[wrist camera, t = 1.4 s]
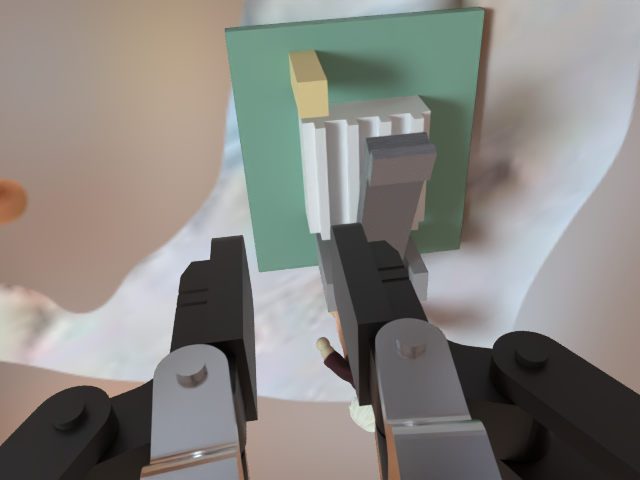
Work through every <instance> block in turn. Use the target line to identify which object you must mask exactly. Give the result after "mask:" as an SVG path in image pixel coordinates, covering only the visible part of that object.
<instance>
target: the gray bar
mask: <svg viewBox="0 0 640 480" xmlns="http://www.w3.org/2000/svg"><path fill="white" fill-rule="evenodd" d="M436 156H437V151H436V148H435V145H434V144H430V142H429V139H428V135H427V132H419V133H409V134H399V135H389V136H379V137H369V138H365V147H364V156H363V165H362V174H361V183H360V192H359V202H358V211H357V220H356V223H358V222H361V224H362V227H363V229H364V232H365V235H366V238H367V241H368V242H372V241H381V240H385V241H386V242H388V243H389V244H390V245H391V246H392V247H394V248H395V249H396V250H397V251H398V252H399V254H400V257H401V259H402V261H403V257H404V254H405V250H406V246H407V243H408V239H409V235H410V231H411V228H412V224H413V220H414V217H415V213H416V209H417V205H418V202H419V198H420V194H421V190H422V187H423V183H424V181H425V180H430V177H431V174H432V170H433V167H434V163H435V160H436Z"/></svg>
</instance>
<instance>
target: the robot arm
mask: <svg viewBox="0 0 640 480" xmlns="http://www.w3.org/2000/svg"><path fill="white" fill-rule="evenodd" d="M330 240H331V260H332V279H333V289H334V296H335V301H336V306H337V310H338V315H339V319H340V323H341V328H342V332H343V337H344V341H345V345H346V350H347V354H348V359H349V363H350V367H351V372H352V376H353V381H354V385H355V389H356V394H357V398H358V403H359V406H366V405H372V409H373V413H374V417H375V440H376V447H377V454H378V463H379V471H380V479H381V480H640V395H639V394H637V393H636V392H634V391H633V390H631V389H630V388H628V387H626V386H625V385H623V384H622V383H620V382H618V381H617V380H616V379H614V378H612V377H611V376H609V375H608V374H606V373H605V372H603V371H601V370H600V369H598V368H597V367H595V366H594V365H592V364H591V363H589V362H587V361H586V360H584V359H583V358H581V357H580V356H578V355H576V354H575V353H573V352H572V351H570V350H569V349H567V348H566V347H564V346H562V345H561V344H559V343H557V342H556V341H555V340H553V339H551V338H549V337H547V336H545V335H542V334H539V333H535V332H529V331H515V332H510V333H507V334H505V335H503V336H501V337H500V338H498V339H497V341H496V342H495V343H494V345H493V349H490V348H482V347H473V346H466V345H461V344H457V343H454V342H452V341H449V340H447V339H446V337H445V335H444V334H443V332H442V331H441V330H440V329H439V328H437V327H436V326H435V325H433V324H431V323H429V322H428V320H427V318H426V316H425V313H424V311H423V308H422V306H421V304H420V301H419V299H418V297H417V294H416V292H415V290H414V287H413V285H412V282H411V280H409V275H408V273H407V271H406V268H404V264H403V261H402V259H401V257H400V254H399V252H398V251H397V250H396V249H395V248H394V247H392V246H391V245H390V244H389V243H388V242H386V241H385V240H381V241H372V242H368V241H367V238H366V235H365V232H364V229H363V227H362V224H361V222H358V223H349V224H340V225H331V226H330ZM254 420H258V417H257V388H256V360H255V333H254V308H253V297H252V289H251V282H250V276H249V269H248V263H247V256H246V250H245V244H244V238H243V235H239V236H230V237H221V238H212V241H211V254H210V260H204V261H195V262H191V263H190V265H189V266H188V267H187V269H186V270H185V271H184V273H183V274H182V275H181V278H180V285H179V295H178V299H177V308H176V313H175V320H174V327H173V335H172V342H171V349H170V354H168V355H167V356H166V357H165V358H164V359H162V361H161V362H160V363H159V364H158V366H157V368H156V370H155V372H154V378H153V379H151V380H150V381H149V382H147V383H145V384H144V385H142V386H140V387H138V388H135V389H133V390H130V391H128V392H125V393H122V394H120V395H117V396H115V397H112V398H109V396H108V395H107V394H106V392H105V391H103V390H102V389H100V388H97V387H94V386H77V387H71V388H68V389H65V390H63V391H61V392H58V393H56V394H55V395H53V396H51V397H50V398H48V399H47V400H46V401H45V402H43V403H42V404H41V405H40V406H39V407H38V408H37V409H36V410H35V411H34V412H33V413H32V414H31V415H30V416H29V417H28V418H27V419H26V420H25V422H23V423H22V424H21V425H20V426H19V428H17V430H15V432H14V433H13V434H12V435H11V436H10V437H9V438H8V439H7V440H6V441H5V442H4V443H3V444H2V445H1V446H0V480H250V478H249V469H248V462H247V454H246V449H245V445H246V422H247V421H254Z"/></svg>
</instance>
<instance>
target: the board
mask: <svg viewBox="0 0 640 480" xmlns="http://www.w3.org/2000/svg"><path fill="white" fill-rule="evenodd" d="M484 12H485V10H483V9H482V8H480V7H472V8H460V9H448V10H436V11H424V12H412V13H400V14H388V15H376V16H364V17H352V18H340V19H328V20H316V21H304V22H292V23H280V24H269V25H257V26H245V27H234V28H225V37H226V44H227V51H228V58H229V65H230V72H231V79H232V86H233V93H234V100H235V107H236V114H237V121H238V128H239V135H240V142H241V149H242V157H243V164H244V171H245V178H246V185H247V192H248V199H249V206H250V213H251V220H252V227H253V234H254V241H255V248H256V255H257V262H258V269H259V272H266V271H275V270H283V269H292V268H300V267H309V266H318V265H319V269H320V274H321V278H322V283H323V288H324V293H325V298H326V303H327V307H328V312H334V311H338V310H337V306H336V301H335V296H334V289H333V279H332V260H331V240H330V226H331V225H340V224H349V223H356V220H357V211H358V202H359V192H360V183H361V174H362V165H363V156H364V147H365V138H369V137H379V136H389V135H399V134H409V133H419V132H427V135H428V139H429V142H430V144H434V145H435V148H436V151H437V156H436V160H435V163H434V167H433V170H432V174H431V177H430V180H425V181H424V183H423V187H422V190H421V194H420V198H419V202H418V205H417V209H416V213H415V217H414V220H413V224H412V228H411V231H410V235H409V239H408V243H407V246H406V250H405V254H404V257H403V264H404V268H406V271H407V273H408V275H409V280H411V282H412V285H413V287H414V290H415V292H416V294H417V297H418V299H419V301H424V300H426V299H427V285H428V271H427V268H426V266H425V264H424V262H423V260H422V258H421V256H420V254H421V253H430V252H438V251H447V250H456V249H459V247H460V238H461V228H462V219H463V210H464V200H465V191H466V181H467V172H468V162H469V153H470V144H471V134H472V125H473V115H474V106H475V97H476V87H477V78H478V68H479V59H480V49H481V40H482V31H483V21H484Z"/></svg>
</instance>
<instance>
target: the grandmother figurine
mask: <svg viewBox="0 0 640 480" xmlns="http://www.w3.org/2000/svg"><path fill="white" fill-rule="evenodd" d="M330 313H331V314H332V315H333V316H334V317H335V319H336V328H337V332H338V336H339V340H340V342H341V345H342V348H343V352H344V358H343V357H342V356H341V355H340V354H339V353H338V352H336V351H335V350H334V349H333V347H331V346H330V342H329V341H328V339H327V338H324V337H322V338H319V339H318V340H317V342H316V347H317V348H318V349H319V350H320V351H321V355H322V357H323V359H324V364H325V365H326V366H327V367H329V368H330V369H331V370H332V371H333V372H334V373H336V374H337V375H338V376H339V377H340V378H342V379H343V380H345V381H347V382H349V383H351V385H352V386H353V388H354V389H355V385H354V381H353V376H352V372H351V367H350V363H349V359H348V354H347V350H346V345H345V341H344V337H343V332H342V328H341V323H340V319H339V315H338V311H334V312H330ZM355 390H356V389H355ZM348 407H349V409H350V414H351V417H352V419H353V420H354V421H355V422H356V423H357V424H358V425H359V426H361V427H362V428H363V429H365V430H366V431H368V432H373V433H375V417H374V413H373V409H372V405H366V406H359V403H358V398H357V396H356V397H355V398H354V399H353V401H352V404H351V405H350V406H348Z"/></svg>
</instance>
